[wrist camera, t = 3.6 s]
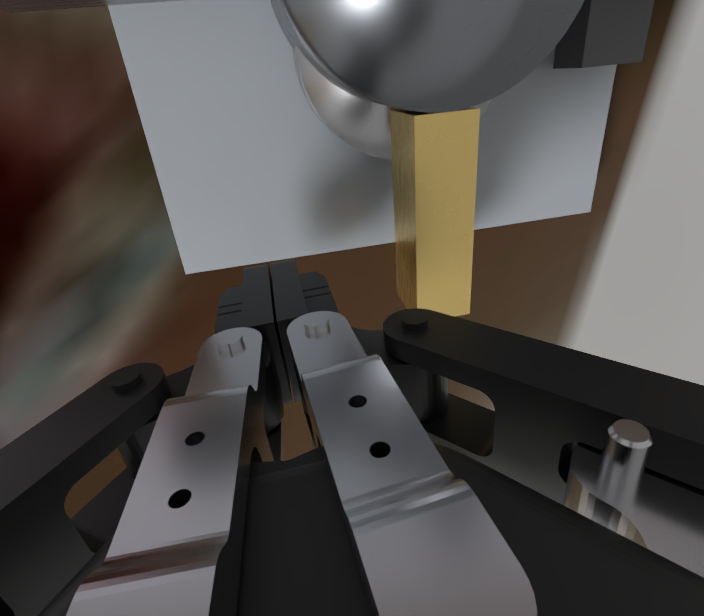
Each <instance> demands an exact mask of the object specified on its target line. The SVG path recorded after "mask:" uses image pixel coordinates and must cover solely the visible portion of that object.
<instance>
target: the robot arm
mask: <svg viewBox="0 0 704 616" xmlns="http://www.w3.org/2000/svg"><path fill="white" fill-rule="evenodd" d="M270 266H271V273H270V268H269V265H268V264H265V265H260V266H255V267H249V268H244V269H243V285H242V286H237V287H232V288H228V289H227V290H226V291H225V292H224V293H223V294H222V295H221V296H220V297H219V304H218V311H217V319H216V326H215V334H214V335H213V336H211V337H210V338H208V339H207V340H206V341H205V342H204V343H203V344H202V345H201V347H200V349H199V352H198V356H197V359H196V362H195V365H193V366H191V367H189V368H187V369H184V370H182V371H179V372H177V373H174V374H172V375H169V376H167V377H165V374H164V372H163V369H162V368H161V367H160V366H159V365H156V364H153V363H139V364H134V365H130V366H127V367H124V368H121V369H119V370H117V371H115V372H113V373H111V374H109V375H108V376H106V377H105V378H103V379H102V380H100V381H99V382H97V383H96V384H95V385H93V386H92V387H90V388H89V389H87V390H86V391H84V392H83V393H82V394H80V395H79V396H77V397H76V398H74V399H73V400H71V401H70V402H69V403H67V404H66V405H64V406H63V407H61V408H60V409H58V410H57V411H56V412H54V413H53V414H51V415H50V416H48V417H47V418H45V419H44V420H43V421H41V422H40V423H38V424H37V425H35V426H34V427H32V428H31V429H30V430H28V431H27V432H25V433H24V434H22V435H21V436H19V437H18V438H17V439H15V440H14V441H12V442H11V443H9V444H8V445H6V446H5V447H4V448H2V449H1V450H0V616H704V386H703V385H699V384H696V383H692V382H689V381H685V380H681V379H678V378H674V377H670V376H667V375H663V374H660V373H656V372H652V371H649V370H645V369H642V368H638V367H634V366H631V365H627V364H623V363H620V362H616V361H613V360H609V359H606V358H601V357H598V356H595V355H591V354H587V353H584V352H580V351H577V350H573V349H569V348H566V347H562V346H559V345H555V344H551V343H548V342H544V341H541V340H537V339H533V338H530V337H526V336H523V335H519V334H515V333H512V332H508V331H505V330H501V329H497V328H494V327H490V326H487V325H483V324H479V323H476V322H472V321H468V320H465V319H461V318H458V317H454V316H450V315H447V314H443V313H440V312H436V311H432V310H428V309H421V308H414V309H405V310H401V311H398V312H396V313H393V314H392V315H390V316H389V317H387V318H386V320H385V321H384V323H383V330H360V329H356V328H353V327H350V325H349V323H348V321H347V320H346V318H345V317H344V316H343V315H341V314H339V312H338V309H337V307H336V304H335V301H334V299H333V296H332V294H331V291H330V288H329V286H328V283H327V280H326V278H325V277H324V276H322V275H321V274H319V273H317V272H310V273H305V274H300V275H299V274H298V270H297V266H296V262H295V259H292V260H287V261H281V262H276V263H271V264H270ZM271 275H272V277H271ZM289 377H290V380H289ZM448 379H451V380H454V381H456V382H459V383H462V384H464V385H467V386H470V387H472V388H475V389H477V390H480V391H482V392H483V393H485V394H486V395H487V396H488V397H489V398H490V399H491V401H492V402H493V404H494V407H495V411H492V410H490V409H487V408H484V407H482V406H479V405H477V404H474V403H472V402H469V401H467V400H464V399H462V398H459V397H457V396H454V395H452V394H449V393H448ZM290 381H291V386H292V390H293V394H294V399H295V402H296V401H301V400H302V404H303V408H304V413H305V417H306V422H307V426H308V430H309V433H310V437H311V440H312V444H313V448H314V449H313V450H311V451H309V452H307V453H304V454H302V455H300V456H298V457H296V458H293V459H291V460H287V461H285V425H284V421H283V415H284V410H283V405H284V404H288V403H293V402H292V395H291V387H290ZM116 448H117V449H118V450H119V452H120V454H121V456H122V458H123V460H124V462H125V464H126V466H127V468H126V469H125V470H124V471H123V472H122V473H121V474H119V475H118V476H117V477H116V478H115V479H114V480H113V481H112V482H111V483H110V484H108V485H107V486H106V487H105V488H104V489H103V490H102V491H101V492H100V493H99V494H97V495H96V496H95V497H94V498H93V499H92V500H91V501H90V502H89V503H88V504H86V505H85V506H84V507H83V508H82V509H81V510H80V511H79V512H78V513H77V514H76V515H74V516H73V517H72V518H71V519H69V517H68V516H67V514H66V513H65V510H64V501H65V498H66V495H67V493H68V492H69V490H70V489H71V487H72V486H73V485H74V484H75V483H76V482H77V481H78V480H80V479H81V478H82V477H83V476H84V475H85V474H87V473H88V472H89V471H90V470H91V469H92V468H94V467H95V466H96V465H97V464H98V463H99V462H101V461H102V460H103V459H104V458H105V457H107V456H108V455H109V454H110V453H111V452H112V451H114V450H115V449H116Z"/></svg>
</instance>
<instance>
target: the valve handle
mask: <svg viewBox="0 0 704 616" xmlns="http://www.w3.org/2000/svg"><path fill="white" fill-rule="evenodd" d="M166 1H181V0H0V10H4V11H8V12H24V11H38V10H52V9H67V8H81V7H95V6H109V5H124V4H138V3H152V2H166ZM270 2H271V5H272V8H273V11H274V13H275V16H276V18H277V20H278V23H279V25H280V27H281V29H282V31H283V33H284V35H285V36H286V38H287V40H288V42H289V43H290V45H291V47H292V48H293V57H294V63H295V68H296V73H297V76H298V79H299V82H300V86H301V88H302V90H303V93H304V95H305V97H306V99H307V101H308V103H309V105H310V106H311V108H312V110H313V111H314V113H315V114H316V115H317V117H318V118H319V119H320V120H321V122H322V123H323V124H324V125H325V126H326V127H327V128H328V129H329V130H330V131H331V132H332V133H333V134H335V135H336V136H337V137H339V138H340V139H341V140H343V141H344V142H346V143H347V144H348V145H350V146H352V147H354V148H355V149H357V150H359V151H361V152H363V153H366V154H368V155H371V156H374V157H378V158H382V159H388V160H392V175H393V201H394V227H395V253H396V279H397V294H398V295H399V297H400V298H401V300H402V301H403V303H404V304H405V306H406V307H407V309H414V308H421V309H428V310H432V311H436V312H440V313H443V314H447V315H450V316H459V315H465V314H470V296H471V277H472V257H473V238H474V218H475V199H476V180H477V160H478V141H479V121H480V117H481V115H482V114H483V113H484V111H485V110H486V109H487V107H488V105H489V104H490V102H491V100H492V99H493V98H494V97H496V96H498V95H500V94H502V93H504V92H505V91H507V90H508V89H510V88H511V87H513V86H514V85H516V84H517V83H519V82H520V81H521V80H523V79H524V78H525V77H526V76H527V75H528V74H530V73H531V72H532V71H533V70H534V69H535V68H537V66H538V65H539V64H540V63H541V62H542V61H543V60H544V59H545V58H546V57H547V56H548V55H549V54H550V53H551V52H552V50H553V49H554V48H555V46H556V45H557V44H558V42H559V41H560V40H561V38H562V37H563V36H564V34H565V33H566V32H567V30H568V29H569V27H570V25H571V24H572V22H573V20H574V19H575V17H576V16H577V14H578V12H579V11H580V9H581V6H582V4H583V2H584V0H270Z"/></svg>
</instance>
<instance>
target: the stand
mask: <svg viewBox="0 0 704 616" xmlns="http://www.w3.org/2000/svg"><path fill="white" fill-rule="evenodd" d="M654 1H655V0H584V2H583V4H582V6H581V9H580V11H579V12H578V14H577V16H576V17H575V19H574V20H573V22H572V24H571V25H570V27H569V29H568V30H567V32H566V33H565V34H564V36H563V37H562V38H561V40H560V41H559V42H558V44H557V45H556V46H555V48H554V49H553V50H552V52H551V53H550V54H549V55H548V56H547V57H546V58H545V59H544V60H543V61H542V62H541V63H540V64H539V65H538V66H537V68H535V69H534V70H533V71H532V72H531V73H530V74H528V75H527V76H526V77H525V78H524V79H523V80H521V81H520V82H519V83H517V84H516V85H514V86H513V87H511V88H510V89H508V90H507V91H505V92H504V93H502V94H500V95H498V96H496V97H494V98H493V99H492V100H491V102H490V104H489V105H488V107H487V109H486V110H485V111H484V113H483V114H482V115H481V117H480V121H479V141H478V160H477V180H476V199H475V218H474V230H476V229H482V228H489V227H495V226H502V225H508V224H514V223H521V222H527V221H534V220H540V219H547V218H553V217H560V216H566V215H573V214H579V213H586V212H590V211H591V205H592V199H593V194H594V188H595V183H596V177H597V172H598V166H599V160H600V155H601V149H602V144H603V138H604V133H605V127H606V121H607V116H608V110H609V105H610V99H611V94H612V88H613V82H614V77H615V71H616V66H617V64H626V63H635V62H642V60H643V55H644V50H645V45H646V40H647V35H648V31H649V26H650V21H651V16H652V11H653V6H654ZM108 8H109V11H110V15H111V18H112V22H113V25H114V29H115V32H116V36H117V39H118V42H119V46H120V49H121V53H122V56H123V60H124V63H125V67H126V70H127V73H128V77H129V80H130V84H131V87H132V91H133V94H134V98H135V101H136V104H137V108H138V111H139V115H140V118H141V122H142V125H143V129H144V132H145V136H146V139H147V142H148V146H149V149H150V153H151V156H152V160H153V163H154V167H155V170H156V173H157V177H158V180H159V184H160V187H161V191H162V194H163V198H164V201H165V205H166V208H167V211H168V215H169V218H170V222H171V225H172V229H173V232H174V236H175V239H176V242H177V246H178V249H179V253H180V256H181V260H182V263H183V267H184V270H185V273H186V274H190V273H197V272H203V271H209V270H216V269H222V268H229V267H235V266H242V265H248V264H255V263H261V262H268V261H274V260H281V259H287V258H294V257H300V256H307V255H313V254H320V253H326V252H333V251H339V250H346V249H352V248H359V247H365V246H372V245H378V244H385V243H391V242H395V227H394V201H393V175H392V160H388V159H382V158H378V157H374V156H371V155H368V154H366V153H363V152H361V151H359V150H357V149H355V148H354V147H352V146H350V145H348V144H347V143H346V142H344V141H343V140H341V139H340V138H339V137H337V136H336V135H335V134H333V133H332V132H331V131H330V130H329V129H328V128H327V127H326V126H325V125H324V124H323V123H322V122H321V120H320V119H319V118H318V117H317V115H316V114H315V113H314V111H313V110H312V108H311V106H310V105H309V103H308V101H307V99H306V97H305V95H304V93H303V90H302V88H301V86H300V82H299V79H298V76H297V73H296V68H295V63H294V57H293V48H292V47H291V45H290V43H289V42H288V40H287V38H286V36H285V35H284V33H283V31H282V29H281V27H280V25H279V23H278V20H277V18H276V16H275V13H274V11H273V8H272V5H271V2H270V0H181V1H166V2H152V3H138V4H124V5H109V6H108Z"/></svg>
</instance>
